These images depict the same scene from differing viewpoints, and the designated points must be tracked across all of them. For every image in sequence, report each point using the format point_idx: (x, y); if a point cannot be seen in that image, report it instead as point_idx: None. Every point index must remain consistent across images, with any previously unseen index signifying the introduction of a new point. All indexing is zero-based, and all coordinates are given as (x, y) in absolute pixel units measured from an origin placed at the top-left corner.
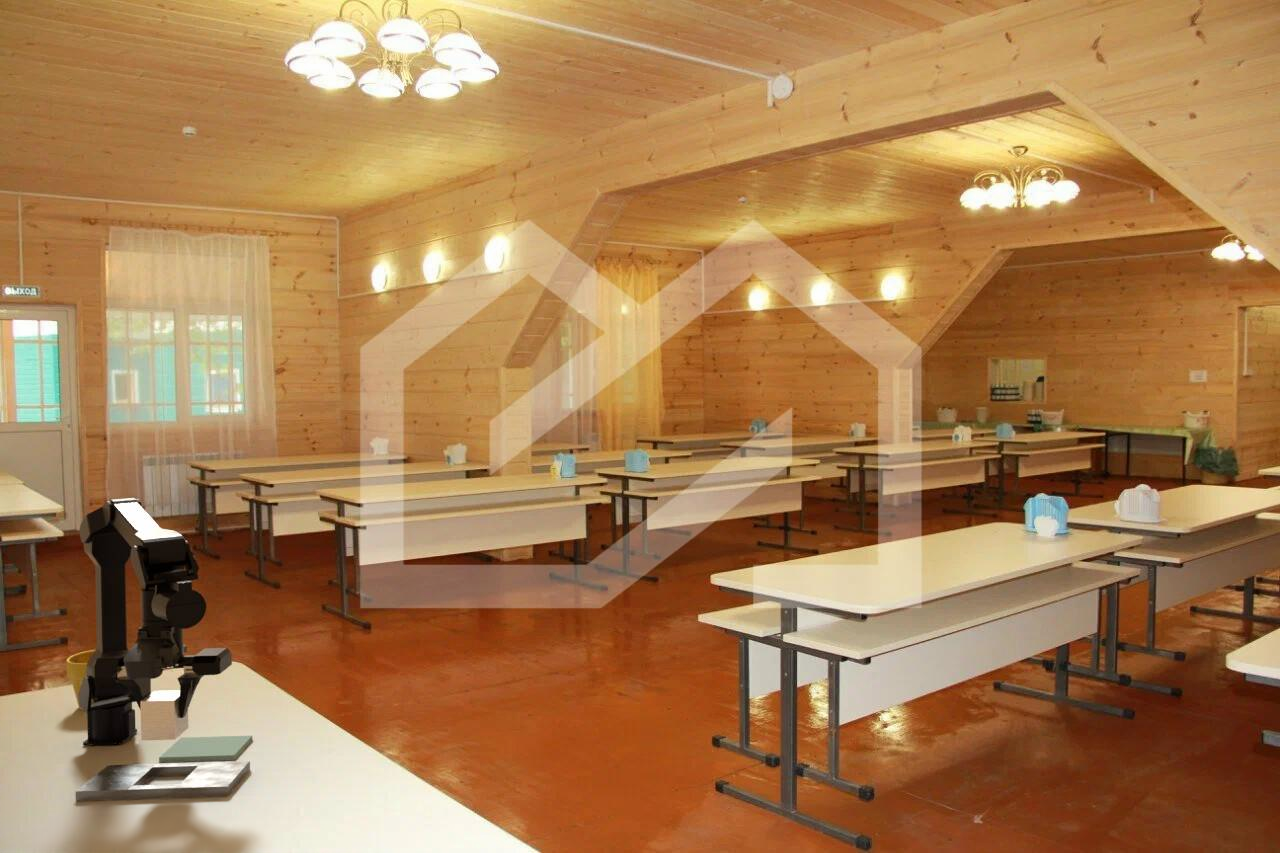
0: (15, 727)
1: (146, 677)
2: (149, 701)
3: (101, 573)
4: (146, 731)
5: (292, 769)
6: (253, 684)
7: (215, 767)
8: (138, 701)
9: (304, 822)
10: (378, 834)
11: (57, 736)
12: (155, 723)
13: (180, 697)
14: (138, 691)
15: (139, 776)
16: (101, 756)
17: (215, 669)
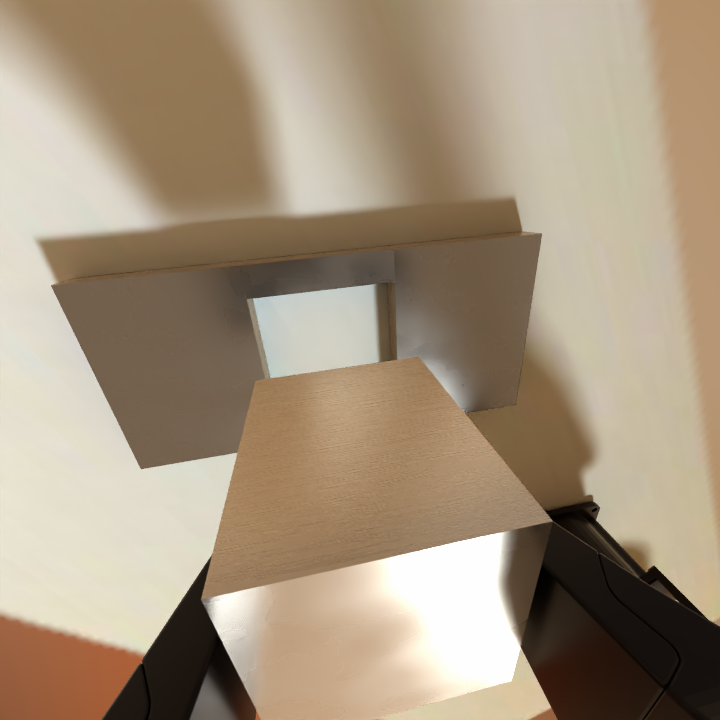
0: (711, 539)
1: None
2: (465, 536)
3: None
4: (406, 380)
5: (23, 468)
6: (403, 717)
7: (215, 419)
8: (565, 543)
9: None
10: None
11: (644, 525)
12: (366, 413)
13: (200, 659)
14: (648, 642)
15: (405, 345)
16: (546, 468)
17: None
